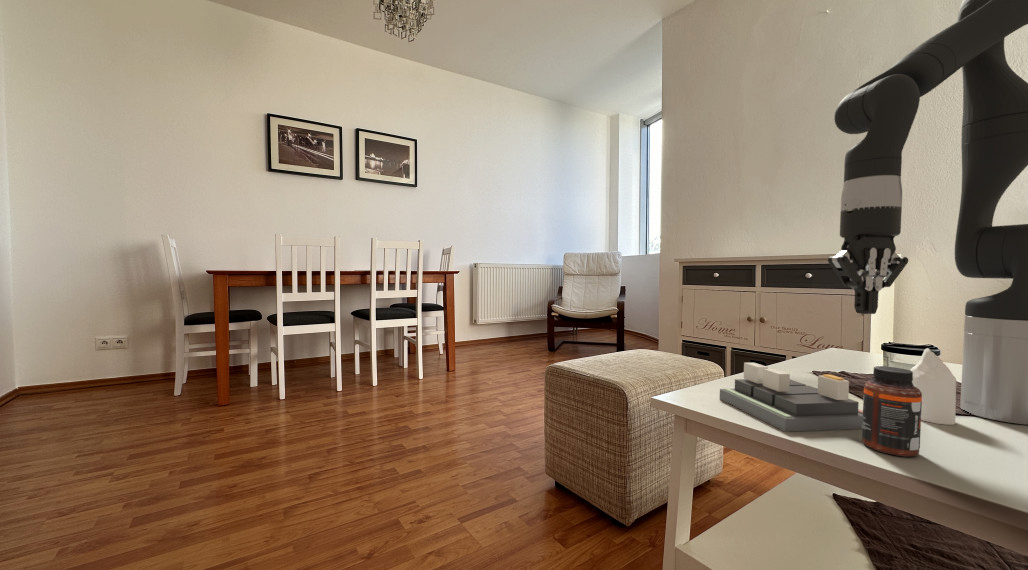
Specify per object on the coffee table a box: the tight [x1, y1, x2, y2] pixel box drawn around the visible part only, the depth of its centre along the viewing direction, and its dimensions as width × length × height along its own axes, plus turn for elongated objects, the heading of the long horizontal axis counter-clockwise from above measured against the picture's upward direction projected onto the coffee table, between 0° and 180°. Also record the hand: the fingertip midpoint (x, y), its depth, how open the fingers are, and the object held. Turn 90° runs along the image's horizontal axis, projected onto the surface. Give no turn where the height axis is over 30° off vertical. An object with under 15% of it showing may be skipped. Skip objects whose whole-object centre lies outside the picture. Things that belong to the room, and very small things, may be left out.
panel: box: [719, 378, 863, 433], centre depth 71 cm, size 16×16×4 cm
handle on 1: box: [743, 362, 769, 383], centre depth 76 cm, size 2×4×3 cm, turn 7°
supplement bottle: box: [861, 365, 922, 458], centre depth 56 cm, size 6×6×11 cm
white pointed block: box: [909, 347, 957, 426], centre depth 69 cm, size 6×12×6 cm
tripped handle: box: [817, 373, 850, 400], centre depth 66 cm, size 2×4×3 cm, turn 7°
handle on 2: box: [763, 368, 791, 392], centre depth 71 cm, size 2×4×3 cm, turn 7°
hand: (865, 313), depth 67 cm, fingers closed
